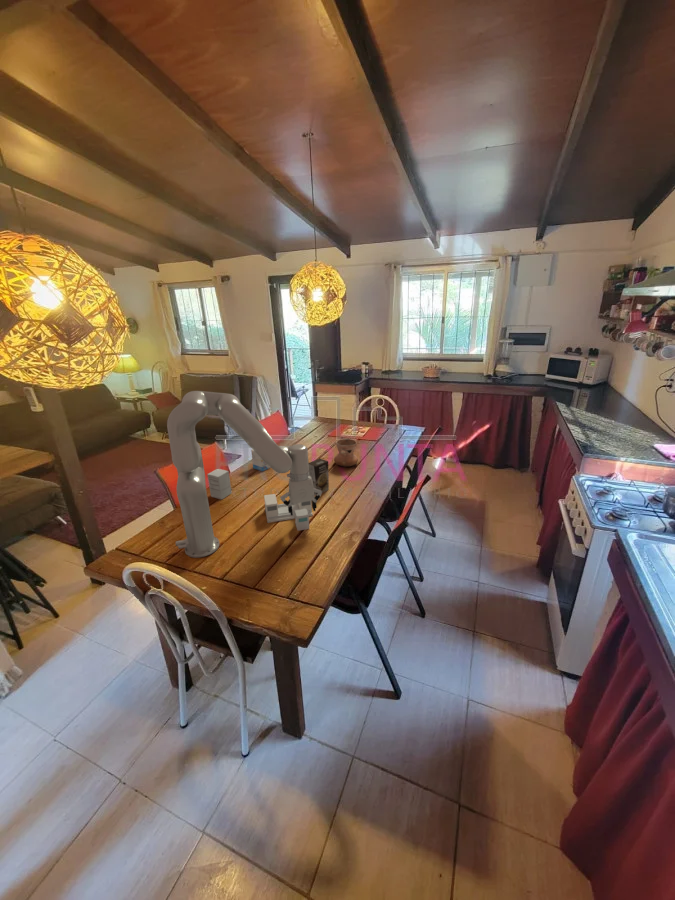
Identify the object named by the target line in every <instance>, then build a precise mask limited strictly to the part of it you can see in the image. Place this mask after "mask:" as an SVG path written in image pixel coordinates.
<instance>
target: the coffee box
mask: <svg viewBox="0 0 675 900" xmlns="http://www.w3.org/2000/svg"><path fill="white" fill-rule="evenodd" d="M309 475H310V476H311V478H312V481H313V487H314V488H316V489H319V490H321V491H322V494H323V493H326V492H328V491H329V490H330V489H329V488H330V487H329V485H330V484H329V483H330V482H329V460H326V459H322V458H317V459H315V460H312V461H310V462H309ZM317 494H318V493H316V492H314V495H315V496H316V495H317Z"/></svg>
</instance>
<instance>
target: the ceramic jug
mask: <svg viewBox="0 0 675 900" xmlns="http://www.w3.org/2000/svg"><path fill="white" fill-rule="evenodd" d="M335 444H336V449H337V451H338V453H337V454H336V455H334V457H333V461H334V463H335V464H336V465H338V466H340V467H353V466H355V465H357V463H358V462H359V458H358V456H357V455H356V454H354V452H355V450H356V448H357V444H358V442H357V441H356V440H355V439H351V438H341V439H338V440H336V441H335Z"/></svg>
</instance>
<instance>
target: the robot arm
mask: <svg viewBox="0 0 675 900" xmlns="http://www.w3.org/2000/svg"><path fill="white" fill-rule="evenodd" d="M207 415H209V416H211V415H212V416H218V417H219V418H220V419H221V420H223V422H224V423H225V424H226V425H227V426H228V427H230V429H231V430H232V431H234V433H236V434H237V435H238V436H239V437H240V438H241V439H242V440H243V441H244V442H246V444H247V446H249V448H251V450H252V449H253V450H254V451H255V452H256V453H257V454H258V455H259V456H260V457H261V458H262V459H263V460H264V461H265V462H266V463H267V464H268V465H269V466H270V467H271V468H270V469H272V470H273V471H274V472H276V473H277V474H286V473H287V474H286V477H287V478H289V479H288V491H287V492H286V493H284V494H283V495H281V496H280V497H279V498H280V500H281V502H282V504H285V505H287V506H288V511H289V513H290V514H291V515H293V512H292V504H293V503H301V502H307V501H311V503H312V510H313V511H312V512H316V509H317V508H318V507H317V502H318V500H320V498H321V496H322V494H323V493H322V491H321V490H319V489H316V488H314V487H313V481H312V478H311V476H310V475H309V463H310V462H309V451H308V447H307V446H306V445H305V444H300V443H298V444H293V445H278V444H277V443H276V441H274V439H273V438H272V436H270V434H269V432H268V431H267V429H266V428H265V427H264V425H263V424H262V423H261V422H260V421H259V420H257V418H256V417H255V416H254V415H253V414H252V413H251V412H250V411H249V410H248V409H247V408H246V407H245V406H244V405H243V404H242V403H241V401H240V399H239V398H238V397H237V396H236V395H234V394H232V393H225V392H215V391H214V392H213V391H203V390H191V391H189V392H187V393H185V394H184V395H183V396H182V399H181V402H180V403H179V404H178V405H177V406H176V407H174V408H173V409H172V410H171V412H170V413H169V415H168V417H167V421H166V426H167V436H168V440H169V442H168V443H169V446H170V447H169V448H170V451H171V461H172V463H173V465H174V467H175V468H176V472H177V480H176V481H177V482H176V495H177V499H178V503H179V506H180V512H181V515H182V521H183V525H184V530H185V535H186V538H185V539H182V540H176V541H175V546H176V547H178V549H179V550H181V549H184V553H185V555H187V557H190V558H194V559H195V558H196V559H197V558H204V557H207V556H209V555H213V554H214V553H215V552H216V551H217V550H218V549H219V548H220V540H219V538H218V537H217V536H215V535H214V528H213V522H212V516H211V510H210V504H209V498H208V494H207V485H206V484H207V483H206V474H205V466H204V460H203V455H202V448H201V446H200V443H199V442H198V440H197V435H196V434H197V433H196V426H197V424H198V423H199V422H201V421H202V420H203V419H204V418H206V416H207ZM288 472H289V473H288ZM314 492H316V493H318V494H317V495H314ZM288 497H289V499H287V498H288Z"/></svg>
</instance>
